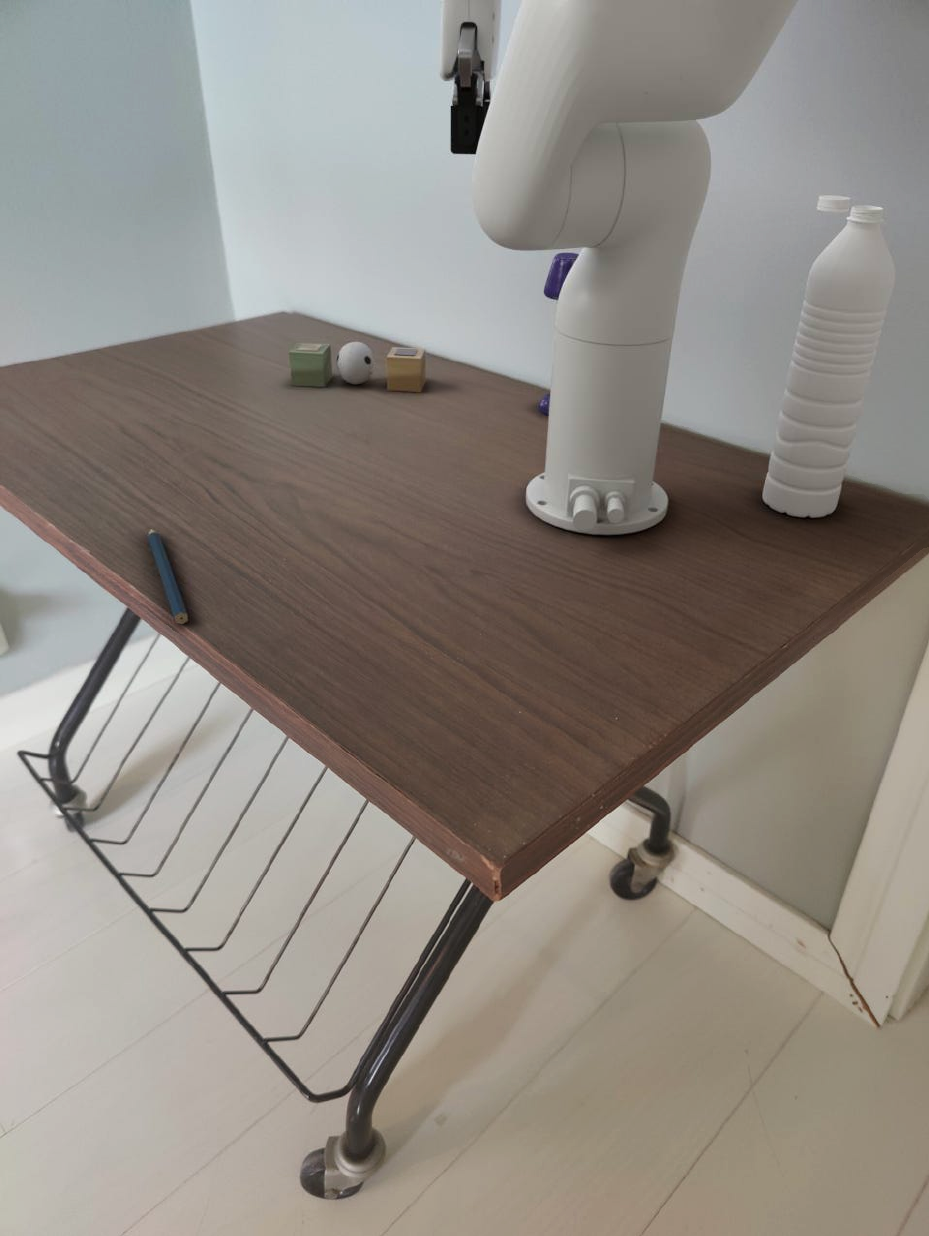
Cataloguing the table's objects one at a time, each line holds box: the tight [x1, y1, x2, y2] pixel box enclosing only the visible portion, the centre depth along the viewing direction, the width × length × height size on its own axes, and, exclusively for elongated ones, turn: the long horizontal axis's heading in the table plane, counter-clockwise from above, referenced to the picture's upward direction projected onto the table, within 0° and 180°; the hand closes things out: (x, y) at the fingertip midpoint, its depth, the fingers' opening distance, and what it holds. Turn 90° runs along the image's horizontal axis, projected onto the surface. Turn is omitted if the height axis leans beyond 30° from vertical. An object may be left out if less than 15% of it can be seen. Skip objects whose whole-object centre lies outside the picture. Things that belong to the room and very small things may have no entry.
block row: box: [288, 342, 427, 393], centre depth 108 cm, size 4×16×4 cm, turn 84°
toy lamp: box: [537, 252, 580, 416], centre depth 98 cm, size 5×5×17 cm
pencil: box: [147, 528, 189, 625], centre depth 70 cm, size 1×1×15 cm
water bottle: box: [762, 194, 896, 519], centre depth 77 cm, size 9×6×25 cm
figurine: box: [336, 341, 379, 385], centre depth 108 cm, size 5×5×5 cm
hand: (472, 149), depth 91 cm, fingers open, 9 cm apart
